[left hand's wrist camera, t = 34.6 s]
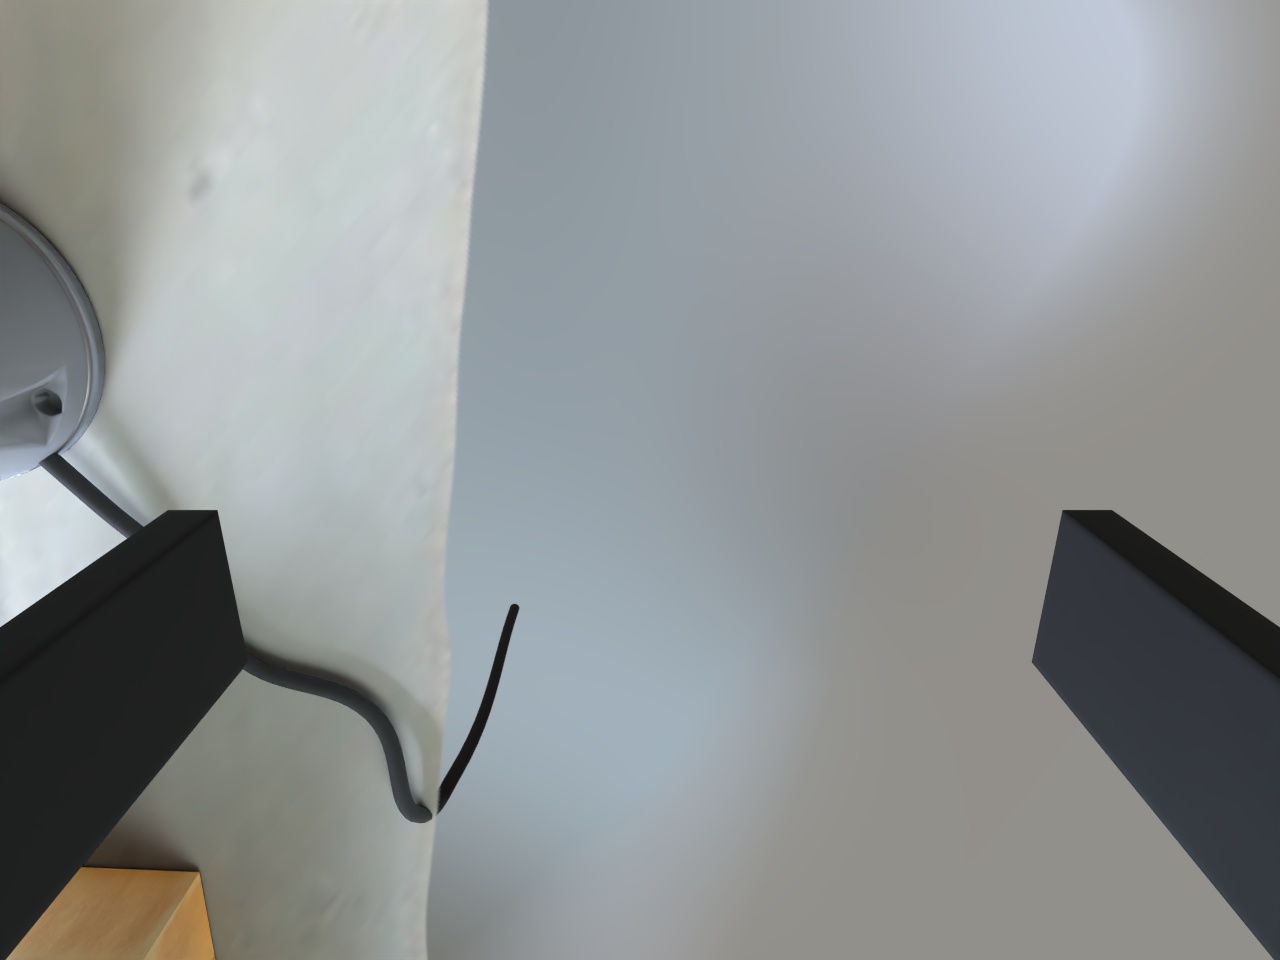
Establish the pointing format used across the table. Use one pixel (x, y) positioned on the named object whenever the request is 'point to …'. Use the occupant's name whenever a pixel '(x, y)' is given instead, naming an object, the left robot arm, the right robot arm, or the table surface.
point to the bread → (123, 918)
